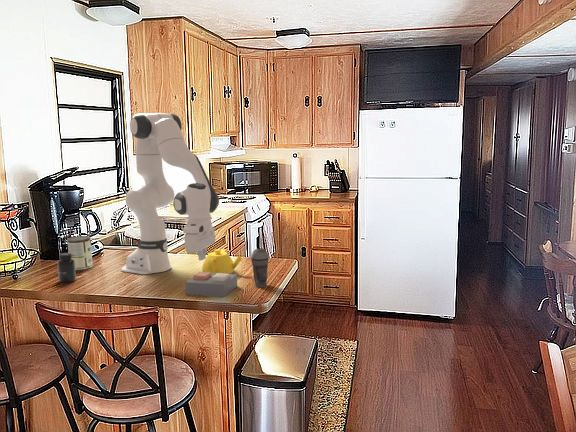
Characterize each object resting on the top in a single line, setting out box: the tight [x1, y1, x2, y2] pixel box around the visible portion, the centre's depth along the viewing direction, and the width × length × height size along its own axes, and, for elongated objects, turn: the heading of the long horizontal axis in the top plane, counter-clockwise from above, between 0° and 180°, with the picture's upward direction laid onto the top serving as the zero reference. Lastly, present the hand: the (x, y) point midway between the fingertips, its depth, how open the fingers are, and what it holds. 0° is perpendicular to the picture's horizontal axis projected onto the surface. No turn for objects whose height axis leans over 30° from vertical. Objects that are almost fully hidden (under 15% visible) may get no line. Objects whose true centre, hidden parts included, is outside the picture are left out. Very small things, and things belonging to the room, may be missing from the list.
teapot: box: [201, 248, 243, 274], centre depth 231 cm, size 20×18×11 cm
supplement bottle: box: [57, 252, 77, 284], centre depth 225 cm, size 7×7×12 cm
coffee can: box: [66, 235, 94, 271], centre depth 247 cm, size 10×10×14 cm
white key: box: [212, 273, 229, 281], centre depth 206 cm, size 5×5×2 cm
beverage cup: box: [250, 237, 270, 288], centre depth 212 cm, size 7×7×20 cm
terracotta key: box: [193, 271, 211, 280], centre depth 209 cm, size 5×5×2 cm
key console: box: [184, 273, 238, 298], centre depth 208 cm, size 16×14×5 cm
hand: (202, 259), depth 207 cm, fingers closed
